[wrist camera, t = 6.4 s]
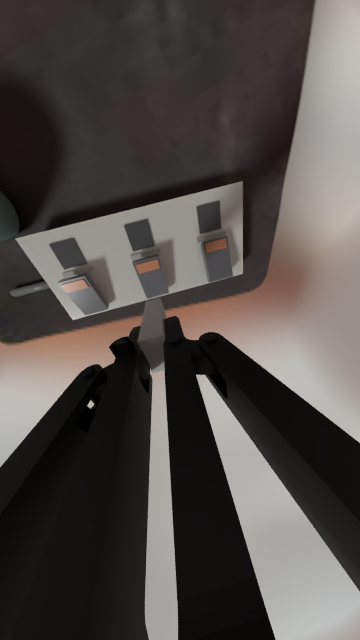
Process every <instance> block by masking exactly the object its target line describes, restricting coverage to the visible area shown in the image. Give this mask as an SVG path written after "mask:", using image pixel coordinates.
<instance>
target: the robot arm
mask: <svg viewBox="0 0 360 640" xmlns="http://www.w3.org/2000/svg"><path fill="white" fill-rule="evenodd" d="M109 348H110V349H111V351H112V353H113V354H114V356H115V357H116V359H115V361H114V363H113V364H111V365H109V366H107V367H105V368H102V367H101V366H100V365H98V364H95V365H92V366H89V367H87V368H86V369H84V370H83V371H82V372H81V373H80V374H79V375H78V376H77V377H76V378H75V379H74V381H73V382H72V383H71V384H70V385H69V386H68V388H67V389H66V390H65V391H64V392H63V394H62V395H61V396H60V397H59V398H58V400H57V401H56V402H55V403H54V404H53V406H52V407H51V408H50V409H49V410H48V411H47V413H46V414H45V415H44V416H43V417H42V419H41V420H40V421H39V422H38V423H37V425H36V426H35V427H34V428H33V429H32V430H31V432H30V433H29V434H28V435H27V436H26V438H25V439H24V440H23V441H22V442H21V444H20V445H19V446H18V447H17V449H16V450H15V451H14V452H13V453H12V454H11V455H10V457H9V458H8V459H7V460H6V461H5V463H4V464H3V465H2V466H1V467H0V640H149V639H148V634H147V630H146V625H145V612H144V611H145V576H146V547H147V546H146V545H147V518H148V489H149V461H150V460H149V459H150V433H151V404H152V377H151V375H150V368H151V370H152V372H153V373H154V372H157V371H161V370H165V385H166V403H167V421H168V438H169V457H170V475H171V493H172V511H173V528H174V547H175V562H176V563H175V565H176V581H177V601H178V640H275V637H274V634H273V630H272V627H271V624H270V621H269V618H268V614H267V611H266V608H265V605H264V601H263V598H262V595H261V592H260V589H259V585H258V582H257V579H256V575H255V572H254V568H253V565H252V562H251V558H250V555H249V552H248V548H247V545H246V542H245V538H244V535H243V531H242V528H241V525H240V521H239V518H238V515H237V511H236V508H235V505H234V501H233V498H232V494H231V491H230V488H229V484H228V481H227V478H226V474H225V471H224V468H223V465H222V461H221V458H220V455H219V451H218V448H217V444H216V441H215V438H214V435H213V431H212V428H211V424H210V421H209V417H208V414H207V411H206V408H205V404H204V401H203V398H202V394H201V391H200V388H199V384H198V381H197V377H196V374H197V375H199V374H200V375H206V377H207V378H208V379H209V381H210V382H211V384H212V385H213V387H214V388H215V389H216V391H217V392H218V394H219V395H220V396H221V397H222V399H223V401H224V402H225V403H226V405H227V406H228V407H229V409H230V410H231V412H232V413H233V414H234V416H235V417H236V419H237V420H238V422H239V423H240V424H241V426H242V427H243V429H244V430H245V431H246V433H247V434H248V435H249V437H250V438H251V440H252V441H253V442H254V444H255V445H256V447H257V448H258V449H259V451H260V452H261V454H262V455H263V456H264V458H265V459H266V460H267V462H268V463H269V465H270V466H271V468H272V469H273V470H274V472H275V473H276V475H277V476H278V477H279V479H280V480H281V482H282V483H283V484H284V486H285V487H286V489H287V490H288V491H289V493H290V494H291V495H292V497H293V498H294V500H295V501H296V503H297V504H298V505H299V507H300V508H301V509H302V511H303V512H304V514H305V515H306V517H307V518H308V519H309V521H310V522H311V524H312V525H313V526H314V528H315V529H316V531H317V532H318V533H319V535H320V536H321V538H322V539H323V540H324V542H325V543H326V545H327V546H328V547H329V549H330V550H331V552H332V553H333V554H334V556H335V557H336V559H337V560H338V561H339V563H340V564H341V566H342V567H343V568H344V570H345V571H346V573H347V574H348V575H349V577H350V578H351V579H352V581H353V582H354V584H355V585H356V587H357V588H358V589H359V591H360V443H359V442H358V441H356V440H355V439H354V438H352V437H351V436H350V435H349V434H347V433H346V432H345V431H343V430H342V429H341V428H340V427H338V426H337V425H336V424H334V423H333V422H332V421H331V420H329V419H328V418H327V417H326V416H324V415H323V414H322V413H320V412H319V411H318V410H316V409H315V408H314V407H312V406H311V405H310V404H309V403H308V402H306V401H305V400H304V399H302V398H301V397H300V396H299V395H297V394H296V393H295V392H293V391H292V390H291V389H289V388H288V387H287V386H286V385H284V384H283V383H282V382H281V381H279V380H278V379H277V378H275V377H274V376H273V375H272V374H270V373H269V372H268V371H266V370H265V369H264V368H263V367H261V366H260V365H259V364H258V363H256V362H255V361H253V360H252V359H251V358H250V357H249V356H247V355H246V354H245V353H243V352H242V351H241V350H240V349H238V348H237V347H236V346H234V345H233V344H232V343H230V342H229V341H228V340H227V339H225V338H224V337H223V336H221V335H220V334H218V333H215V332H208V333H205V334H203V335H201V336H200V338H199V340H189V339H186V338H185V337H184V335H183V332H182V328H181V325H180V321H179V318H177V317H176V316H173V317H169V318H167V317H166V314H165V311H164V307H163V304H162V301H161V298H158V299H155V300H151V301H147V302H146V304H145V309H144V314H143V318H142V323H141V326H138V327H134V328H133V329H132V331H131V332H130V335H129V337H122V338H120V339H118V340H116V341H114V342H113V343H112V344H111V345H110V347H109ZM90 400H91V401H92V402H93V403H94V406H93V407H92V408H91V409H90V408H89V407H87V405H88V403H89V402H90Z"/></svg>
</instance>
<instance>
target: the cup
mask: <svg viewBox="0 0 360 640" xmlns="http://www.w3.org/2000/svg"><path fill="white" fill-rule="evenodd" d="M19 229H20V222H19V218H18V214H17V212H16V210H15V208H14V206H13V205H12V203H11V202H10V200H9V199H8V198H7V197H6V196H5V194H4V193H3V192H2V191H1V190H0V242H4V241H8V240H10V239H12V238H14V237H15V236H16V235H17V234H18V232H19Z"/></svg>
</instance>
